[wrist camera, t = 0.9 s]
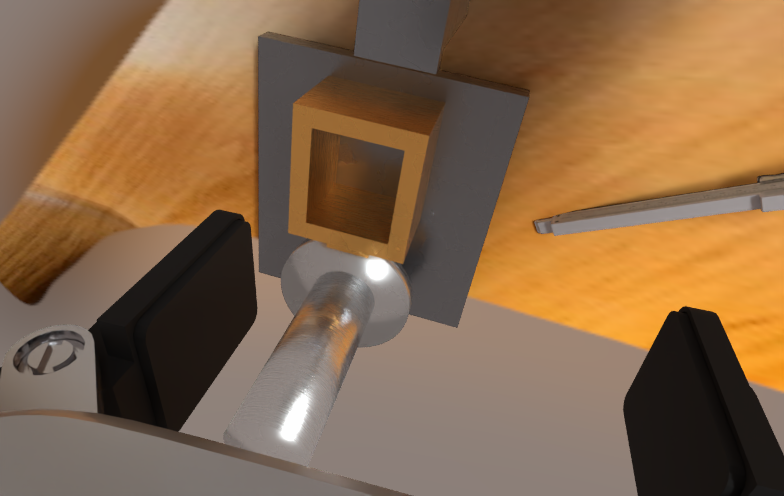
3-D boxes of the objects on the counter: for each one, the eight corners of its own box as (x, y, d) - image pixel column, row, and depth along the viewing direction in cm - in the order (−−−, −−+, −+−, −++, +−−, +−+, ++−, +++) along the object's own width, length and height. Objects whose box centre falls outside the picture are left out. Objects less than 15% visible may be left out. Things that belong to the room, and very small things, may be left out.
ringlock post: (268, 31, 35) (41, 133, 19) (529, 90, 33) (519, 258, 17) (266, 271, 47) (126, 454, 31) (456, 324, 45) (411, 549, 29)
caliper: (884, 132, 30) (955, 177, 25) (884, 149, 30) (954, 197, 25) (533, 218, 38) (532, 266, 33) (538, 231, 38) (537, 279, 33)
